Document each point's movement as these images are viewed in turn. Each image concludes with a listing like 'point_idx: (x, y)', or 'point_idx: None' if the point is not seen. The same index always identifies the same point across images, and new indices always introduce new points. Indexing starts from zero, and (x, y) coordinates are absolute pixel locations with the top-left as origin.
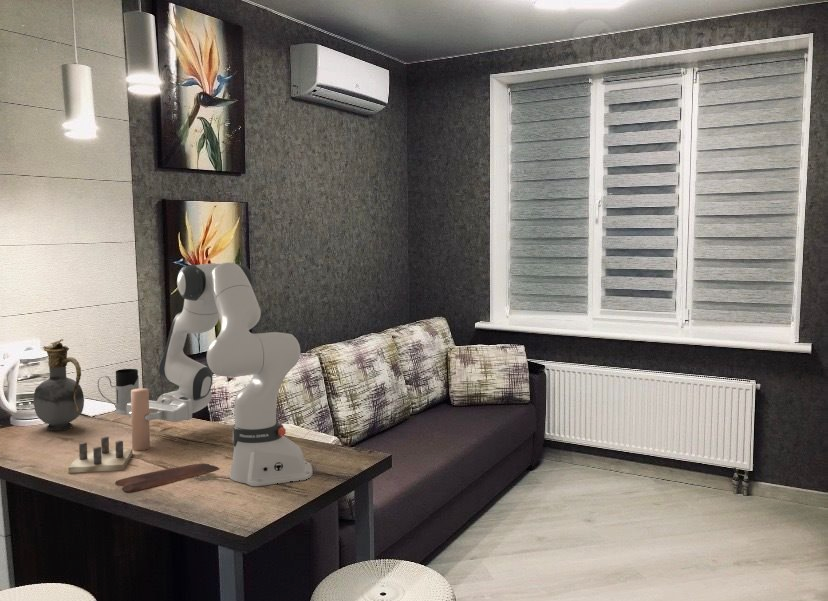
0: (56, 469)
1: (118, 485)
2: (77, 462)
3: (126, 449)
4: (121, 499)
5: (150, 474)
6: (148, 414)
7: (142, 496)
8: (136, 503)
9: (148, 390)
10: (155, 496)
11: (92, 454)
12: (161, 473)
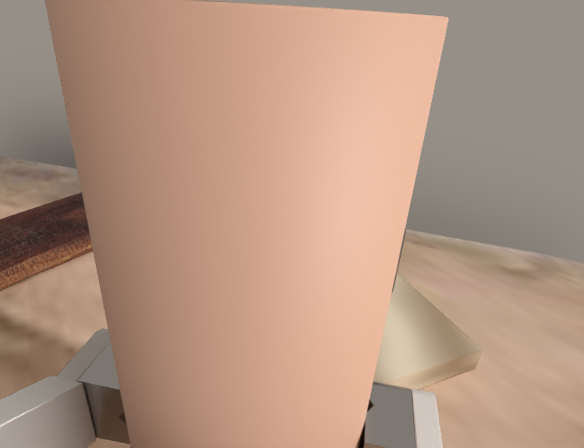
0: (415, 262)
1: None
2: None
3: None
4: None
5: (54, 237)
6: (110, 345)
7: (61, 184)
8: (69, 169)
9: (46, 7)
10: (27, 185)
11: (391, 326)
12: (12, 247)
